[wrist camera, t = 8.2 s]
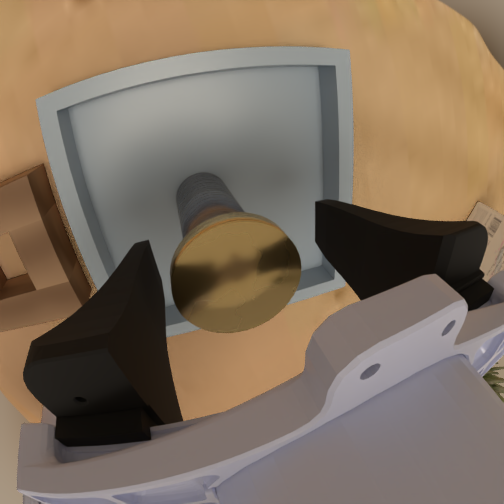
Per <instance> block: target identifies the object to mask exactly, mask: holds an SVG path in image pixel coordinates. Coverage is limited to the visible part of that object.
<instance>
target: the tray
mask: <svg viewBox="0 0 504 504" xmlns="http://www.w3.org/2000/svg"><path fill="white" fill-rule="evenodd" d="M36 105H37V110H38V115H39V121H40V125H41V130H42V135H43V139H44V143H45V147H46V151H47V155H48V159H49V163H50V166H51V170H52V173H53V177H54V180H55V183H56V187H57V190H58V193H59V196H60V199H61V202H62V205H63V208H64V211H65V214H66V216H67V219H68V222H69V225H70V227H71V230H72V232H73V235H74V238H75V240H76V243H77V245H78V248H79V250H80V252H81V255H82V257H83V259H84V262H85V264H86V266H87V269H88V271H89V273H90V275H91V277H92V280H93V282H94V284H95V286H96V288H97V290H99V289H100V288H101V287H102V286H103V285H104V283H105V282H106V281H107V280H108V278H109V277H110V276H111V274H112V273H113V272H114V271H115V269H116V268H117V267H118V265H119V264H120V263H121V261H122V260H123V258H124V257H125V256H126V254H127V253H128V251H129V250H130V248H131V247H132V246H133V245H134V243H137V242H141V241H145V240H149V242H150V245H151V248H152V252H153V255H154V258H155V261H156V264H157V267H158V270H159V273H160V276H161V279H162V284H163V290H164V297H165V315H166V337H170V336H174V335H179V334H183V333H187V332H191V331H195V330H199V329H201V328H199V327H196V326H195V325H193V324H191V323H190V322H189V321H187V320H186V319H185V318H184V317H183V316H182V315H181V314H180V312H179V311H178V309H177V308H176V305H175V303H174V300H173V296H172V290H171V282H170V265H171V261H172V257H173V255H174V253H175V250H176V249H177V247H178V245H179V243H180V242H181V241H182V240H183V237H182V232H181V226H180V221H179V215H178V209H177V203H176V194H177V190H178V188H179V186H180V184H181V183H182V182H183V181H184V180H185V179H186V178H187V177H189V176H191V175H193V174H196V173H200V172H207V173H212V174H214V175H216V176H218V177H219V178H220V179H221V180H222V181H223V182H224V183H225V185H226V186H227V188H228V189H229V190H230V192H231V193H232V195H233V196H234V197H235V199H236V200H237V202H238V203H239V204H240V206H241V207H242V209H243V210H244V211H245V212H247V213H253V214H258V215H261V216H263V217H266V218H268V219H270V220H271V221H273V222H274V223H276V224H277V225H278V226H279V227H280V228H281V229H282V230H283V231H284V232H285V234H286V235H287V236H288V237H289V238H290V239H291V241H292V242H293V243H294V245H295V246H296V248H297V250H298V252H299V255H300V259H301V267H302V268H301V277H300V282H299V285H298V287H297V290H296V292H295V294H294V295H293V297H292V298H291V300H290V301H289V303H288V304H287V305H289V304H292V303H295V302H298V301H302V300H305V299H308V298H311V297H314V296H317V295H320V294H323V293H327V292H330V291H333V290H336V289H339V288H342V287H345V282H346V281H345V280H344V279H343V278H342V276H341V275H340V274H339V273H338V272H337V271H336V270H335V269H334V267H333V266H332V265H331V264H330V263H329V262H328V260H327V259H326V258H325V257H324V255H323V254H322V252H321V251H320V249H319V247H318V246H317V244H316V243H315V201H320V200H325V199H331V200H337V201H341V202H345V203H349V204H352V192H353V97H352V78H351V63H350V51H349V50H345V49H334V48H320V47H250V48H235V49H224V50H215V51H206V52H199V53H192V54H186V55H180V56H174V57H169V58H163V59H159V60H154V61H149V62H145V63H141V64H137V65H133V66H129V67H125V68H121V69H118V70H114V71H111V72H107V73H104V74H101V75H98V76H95V77H92V78H89V79H86V80H83V81H80V82H77V83H74V84H72V85H69V86H67V87H64V88H61V89H59V90H56V91H54V92H52V93H49V94H47V95H45V96H42V97H40V98H38V99H36Z"/></svg>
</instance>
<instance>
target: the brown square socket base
mask: <svg viewBox="0 0 504 504" xmlns="http://www.w3.org/2000/svg"><path fill="white" fill-rule="evenodd" d="M8 232H9V234H10V236H11V239H12V241H13V243H14V246H15V248H16V250H17V252H18V254H19V256H20V258H21V261H22V263H23V265H24V267H25V269H26V271H27V273H28V274H25V275H21V276H18V277H15V278H12V279H9V280H7V279H6V277H5V275H4V273H3V271H2V269H1V267H0V332H3V331H8V330H13V329H18V328H22V327H27V326H32V325H36V324H41V323H46V322H50V321H55V320H59V319H64V318H68V317H70V316H71V315H72V314H74V313H75V312H76V311H77V310H78V309H79V308H80V307H81V306H83V305H84V304H85V303H86V302H87V301H88V300H89V297H90V293H91V287H90V285H89V283H88V281H87V279H86V277H85V275H84V273H83V270H82V268H81V266H80V264H79V262H78V259H77V257H76V255H75V252H74V250H73V248H72V245H71V243H70V240H69V238H68V235H67V233H66V230H65V228H64V225H63V222H62V220H61V217H60V214H59V211H58V208H57V206H56V203H55V200H54V197H53V194H52V191H51V187H50V184H49V181H48V178H47V174H46V171H45V167H44V164H41V165H39V166H37V167H34V168H32V169H29V170H27V171H25V172H23V173H20V174H18V175H16V176H14V177H12V178H9V179H7V180H5V181H3V182H1V183H0V235H3V234H5V233H8Z"/></svg>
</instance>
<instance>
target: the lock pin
mask: <svg viewBox="0 0 504 504" xmlns="http://www.w3.org/2000/svg"><path fill="white" fill-rule="evenodd" d="M176 203H177V209H178V215H179V221H180V226H181V232H182V237H183V240H182V241H181V242H180V243H179V245H178V247H177V249H176V250H175V253H174V255H173V257H172V261H171V265H170V282H171V290H172V296H173V300H174V303H175V305H176V308H177V309H178V311H179V312H180V314H181V315H182V316H183V317H184V318H185V319H186V320H187V321H189V322H190V323H191V324H193V325H195V326H196V327H199V328H201V329H204V330H207V331H211V332H217V333H234V332H240V331H245V330H248V329H251V328H254V327H257V326H259V325H261V324H263V323H265V322H267V321H268V320H270V319H271V318H273V317H274V316H275V315H277V314H278V313H279V312H280V311H281V310H282V309H283V308H284V307H285V306H286V305H287V304H288V303H289V301H290V300H291V298H292V297H293V295H294V294H295V292H296V290H297V287H298V285H299V282H300V277H301V268H302V267H301V259H300V255H299V252H298V250H297V248H296V246H295V245H294V243H293V242H292V241H291V239H290V238H289V237H288V236H287V235H286V234H285V232H284V231H283V230H282V229H281V228H280V227H279V226H278V225H277V224H276V223H274V222H273V221H271V220H270V219H268V218H266V217H263V216H261V215H258V214H253V213H247V212H245V211H244V210H243V209H242V207H241V206H240V204H239V203H238V202H237V200H236V199H235V197H234V196H233V195H232V193H231V192H230V190H229V189H228V188H227V186H226V185H225V183H224V182H223V181H222V180H221V179H220V178H219V177H218V176H216V175H214V174H212V173H207V172H200V173H196V174H193V175H191V176H189V177H187V178H186V179H185V180H184V181H183V182H182V183H181V184H180V186H179V188H178V190H177V194H176Z"/></svg>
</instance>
